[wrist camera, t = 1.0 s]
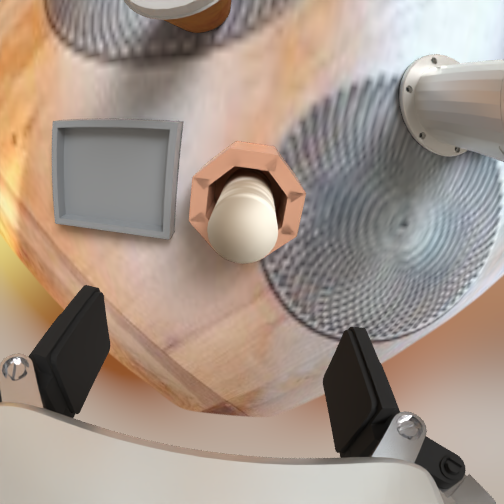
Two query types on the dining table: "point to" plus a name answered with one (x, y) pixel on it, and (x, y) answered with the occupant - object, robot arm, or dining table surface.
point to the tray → (116, 174)
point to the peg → (244, 218)
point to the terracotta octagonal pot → (257, 157)
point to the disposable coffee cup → (185, 12)
